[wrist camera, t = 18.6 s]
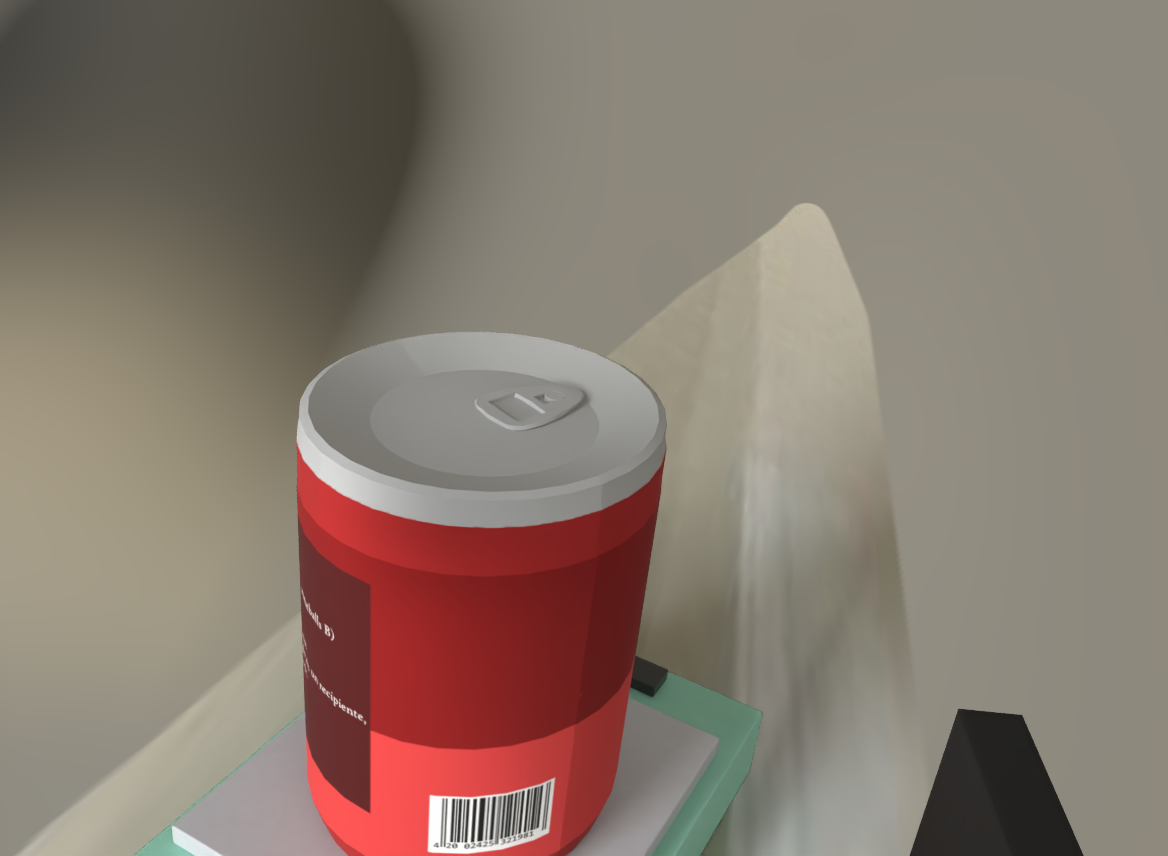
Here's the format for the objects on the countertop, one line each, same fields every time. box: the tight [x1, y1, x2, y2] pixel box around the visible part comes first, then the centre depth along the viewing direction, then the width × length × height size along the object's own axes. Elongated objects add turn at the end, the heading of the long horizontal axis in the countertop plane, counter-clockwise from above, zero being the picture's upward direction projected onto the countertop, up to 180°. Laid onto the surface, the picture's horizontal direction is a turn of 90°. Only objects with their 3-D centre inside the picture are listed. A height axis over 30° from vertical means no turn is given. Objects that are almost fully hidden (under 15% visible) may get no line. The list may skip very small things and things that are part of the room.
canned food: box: [297, 332, 667, 856], centre depth 26 cm, size 8×8×11 cm
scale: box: [134, 656, 763, 856], centre depth 30 cm, size 11×14×3 cm
